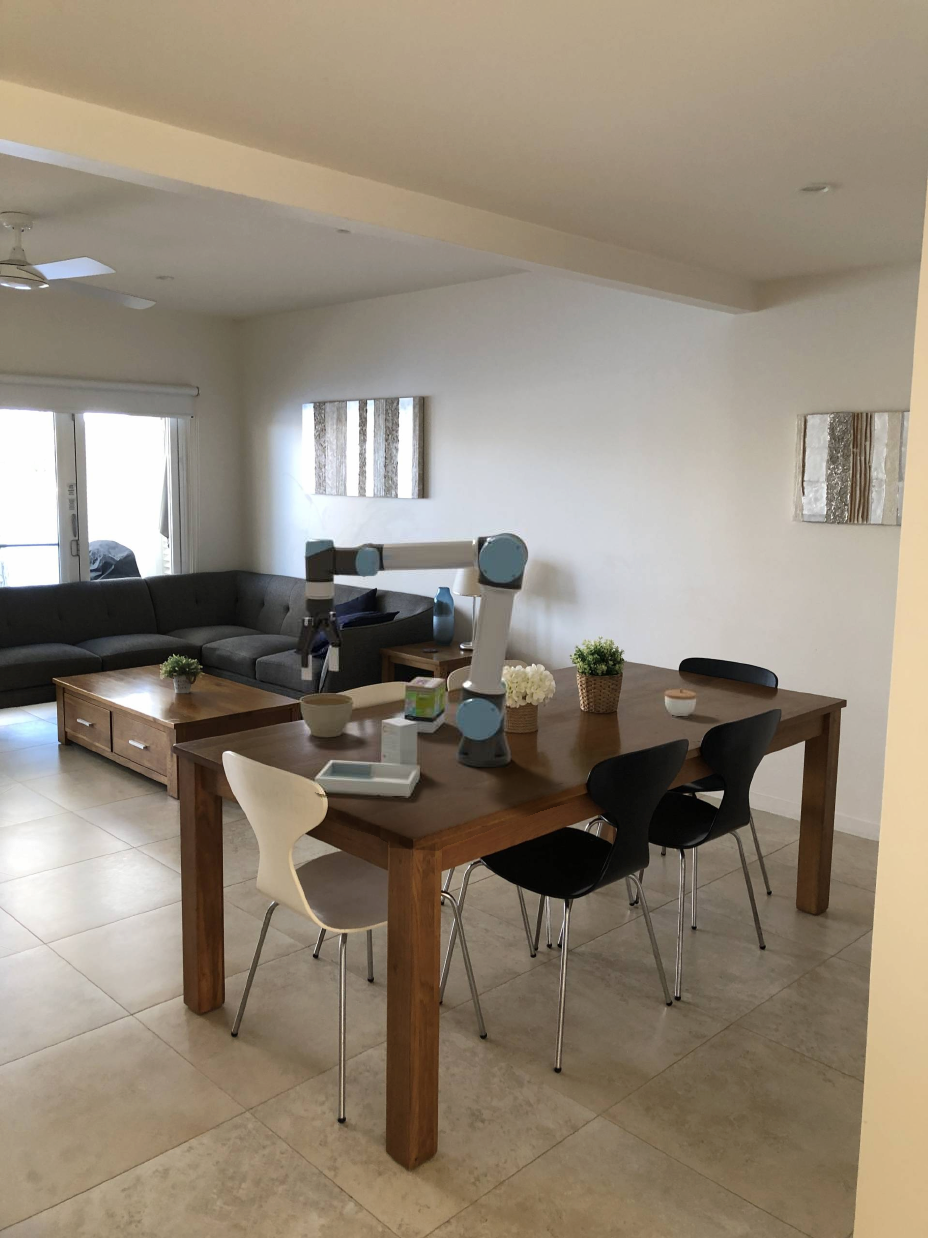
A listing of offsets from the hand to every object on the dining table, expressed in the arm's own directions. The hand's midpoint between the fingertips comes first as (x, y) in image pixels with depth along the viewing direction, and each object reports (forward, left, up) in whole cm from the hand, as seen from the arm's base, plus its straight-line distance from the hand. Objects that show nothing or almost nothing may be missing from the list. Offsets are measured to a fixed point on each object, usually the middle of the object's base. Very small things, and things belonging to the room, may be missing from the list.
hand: (320, 675), depth 266 cm
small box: (-22, -1, -25) cm, 33 cm away
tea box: (-22, -46, -25) cm, 57 cm away
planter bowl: (+6, -31, -25) cm, 40 cm away
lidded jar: (-105, -80, -25) cm, 134 cm away
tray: (-17, +15, -25) cm, 33 cm away
